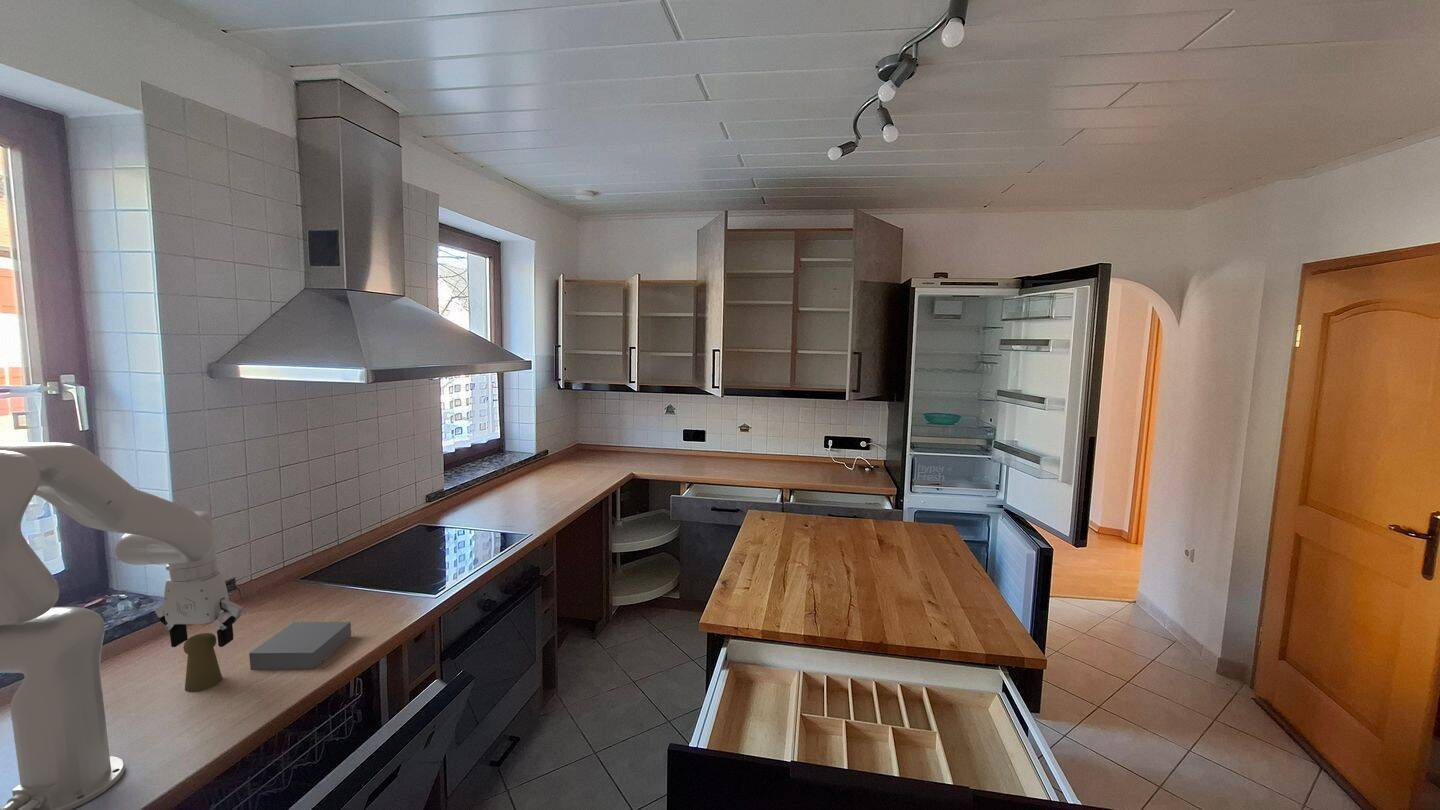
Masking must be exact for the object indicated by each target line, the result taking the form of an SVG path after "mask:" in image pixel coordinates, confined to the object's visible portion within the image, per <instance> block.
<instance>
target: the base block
mask: <svg viewBox="0 0 1440 810" xmlns="http://www.w3.org/2000/svg"><path fill="white" fill-rule="evenodd" d="M351 625H352V622H351V621H292V623H290V624H289V625H287V626H286V627H284V628H283V629H281V630H280V631H279V632H277V633H276V634H274V635H273V636H271V637H270V638H268V639H267V640H266V641H264V642H262V644H260V645H259V646H257V647H256V648H255V649H253V650H252V651H250V652H249V653H248V654H249V655H248V656H249V657H248V658H249V665H250V668H249V669H250V671H251V670H252V671H253V670H254V671H256V670H257V671H258V670H260V671H261V670H263V671H264V670H314V668H315V667H316V666H317V665H318V664H319V663H320V662H322V661H323V660H324V659H325V658H326V657H327V658H328V657H330V656H331V655H332V654H333V653H334V652H335V651H337V650H338V649H339V648H340V647H341V646H342V645H344V644H345V643H346V642H347V641H348V640H349V639H350V638H351V637H352V626H351ZM350 636H351V637H350ZM349 637H350V638H349ZM348 638H349V639H348ZM347 639H348V640H347ZM346 640H347V641H346ZM345 641H346V642H345ZM344 642H345V643H344ZM339 646H340V647H339ZM338 647H339V648H338ZM337 648H338V649H337ZM333 651H334V652H333ZM332 652H333V653H332ZM331 653H332V654H331ZM330 654H331V655H330ZM329 655H330V656H329ZM327 658H326V659H327ZM326 659H325V660H326ZM325 660H324V661H325ZM324 661H323V662H324ZM323 662H322V663H323ZM320 664H321V663H320ZM320 664H319V665H320ZM319 665H318V666H319ZM318 666H317V667H318ZM317 667H316V668H317ZM316 668H315V669H316Z"/></svg>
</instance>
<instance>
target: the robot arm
mask: <svg viewBox="0 0 1440 810" xmlns="http://www.w3.org/2000/svg"><path fill="white" fill-rule="evenodd" d="M34 496H36V497H40V498H41V499H43V500H45V501H46V502H48V503H49V504H51V505H52V506H53V507H55V508H57V509H58V510H60V511H61V512H62V513H64V514H65V515H67V516H68V517H70V518H71V519H72V520H74V521H76V523H78V524H79V525H82V526H84V527H87V528H90V529H94V530H99V531H104V532H109V533H116V534H123V535H122V536H121V537H120V538H119V539H118V540H117V542H116V544H115V548H114V553H115V556H116V557H117V559H118V560H119V561H121V562H122V563H125V564H126V565H127V564H129V565H133V566H138V565H139V566H147V565H149V566H150V565H166V567H165V570H166V571H168V572H169V577H168V578H167V579H166V582H165V586H164V587H165V588H164V592H163V593H164V594H163V595H164V596H163V604H162V605H160V606H158V607H156V608H155V609H154V611H153V612H154V613H155V614H156V616H157V617H158V618H159V621H160V623H162V624H163V625H164V626H165V630H166V631H168V632H169V638H170V639H169V640H170V646H171V647H172V648H176V647H178V646H180V645H182V644H183V643H185V642H186V640H187V639H189V638H188V637H189V636H188V631H187V625H210V624H212V623H213V624H214V625H215V626H216V627H217V628H218V630H217V631H216V635H217V637H216V638H217V645H218V647H219V648H223V647H225V646H226V645H228V644H229V643H231V642H233V640H234V629H233V624H235V623H236V621H237V620H238V619H239V618H240V617H241V614H242V612H243V609H244V607H243V606H242V605H240V604H238V603H236V602H233V601H231V600H230V599H229V593H228V588H227V584H226V582H225V579H224V576H223V572H221V571H219V561H218V554H217V545H216V544H217V543H216V535H215V527H214V519H213V515H212V514H211V513H210V512H207V511H205V510H191V509H190V508H187V507H186V506H183V505H181V504H179V503H176V502H173V501H170V500H167V499H165V498H162V497H159V496H157V495H155V494H151V493H148V492H146V491H142V490H138V489H137V488H135V487H134V486H133V485H131V484H130V483H129V482H128V481H127V480H126V479H124V478H123V477H122V476H120V474H118V473H117V472H116V471H114V470H113V469H112V468H111V467H110V466H109V465H107V464H106V463H105V462H104V461H102V460H101V458H99V457H98V456H97V455H95V454H94V453H92V451H90V450H89V449H87V448H86V447H84V446H81V445H78V444H75V443H68V442H7V443H6V442H4V443H0V674H23V676H24V678H23V681H22V682H21V684H20V685H19V687H18V688H17V689H16V691H15V692H14V694H13V696H12V698H11V701H10V707H9V708H10V709H9V710H10V717H11V723H12V731H13V739H14V746H15V754H16V763H17V768H18V776H19V783H20V784H18V785H17V786H16V787H14V788H13V789H11V793H12V797H10V798H9V799H8V800H7V802H6V804H4V805H3V806H2V807H0V810H73V809H76V808H77V807H80V806H82V805H85V804H86V803H88V802H90V801H92V800H93V799H95V798H97V797H98V796H100V795H101V794H103V793H105V792H106V791H107V790H109V789H110V788H111V787H112V786H114V785H115V784H116V783H117V782H118V781H119V780H120V778H122V776H123V774H124V772H125V769H126V768H125V767H126V766H125V761H124V760H123V759H122V758H121V757H118V756H113V755H110V746H109V739H108V730H107V728H108V727H107V722H106V721H107V720H106V719H107V718H106V711H105V710H106V709H105V702H104V693H103V692H104V691H103V686H102V677H101V676H102V675H101V672H102V671H101V656H102V655H101V654H102V649H103V643H104V637H105V631H106V628H105V621H104V619H103V617H102V616H101V615H100V614H99V613H98V612H96V611H95V610H92V609H89V608H86V607H80V606H55V604H56V603H57V601H58V600H59V598H60V597H59V596H60V588H59V585H58V582H57V579H56V578H55V576H54V575H53V574H52V572H51V571H50V570H49V568H48V567H47V566H46V565H45V563H44V562H43V561H42V559H40V557H39V556H38V554H37V553H36V552H35V550H33V548H32V547H31V545H30V544H29V543H28V541H27V540H26V538H25V536H24V535H23V531H22V521H23V517H24V516H25V513H26V511H27V508H28V507H29V504H30V502H31V501H32V499H33V497H34ZM229 612H230V613H229ZM221 618H223V620H224V621H223V620H222V619H221Z"/></svg>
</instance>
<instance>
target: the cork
mask: <svg viewBox="0 0 1440 810" xmlns="http://www.w3.org/2000/svg"><path fill="white" fill-rule="evenodd" d="M183 643H184V644H183V652H184V653H185V654H187V661H186V662H187V663H186V669H185V670H186V673H185V682H184V691H185V692H186V693H187V692H188V693H197V692H202V691H205V690H208V689H211V688H213V687H214V686H216V685H218V684H220V682H221V681H222V680H223V675H222V673H221V669H220V665H219V661H218V658H217V654H216V652H215V649H214V647H215V646H216V644H217V637H216V635H215V634H213V632H202V633H198V634H194V635H193V636H190V637H189V638H188V639H187V640H186V641H184V642H183Z"/></svg>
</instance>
